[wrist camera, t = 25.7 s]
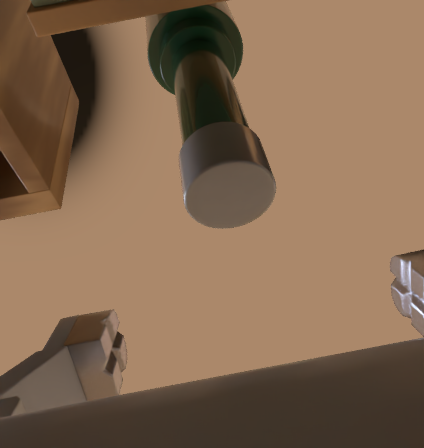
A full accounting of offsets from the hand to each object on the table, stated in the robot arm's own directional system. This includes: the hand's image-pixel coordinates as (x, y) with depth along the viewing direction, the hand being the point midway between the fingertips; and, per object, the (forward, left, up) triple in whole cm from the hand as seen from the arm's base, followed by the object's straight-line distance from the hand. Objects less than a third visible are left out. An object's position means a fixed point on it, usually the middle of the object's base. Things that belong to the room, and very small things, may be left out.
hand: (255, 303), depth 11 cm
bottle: (-3, +12, -4) cm, 13 cm away
